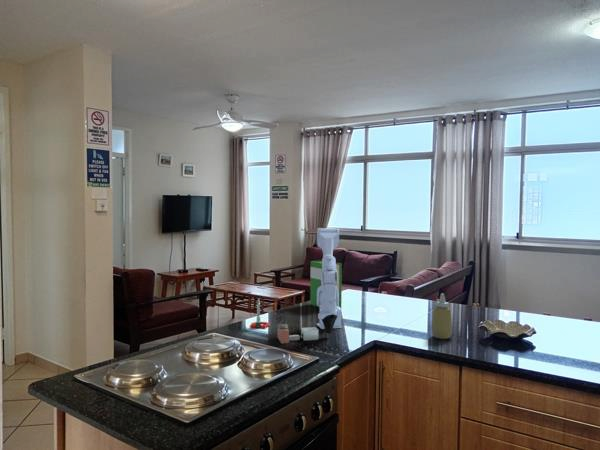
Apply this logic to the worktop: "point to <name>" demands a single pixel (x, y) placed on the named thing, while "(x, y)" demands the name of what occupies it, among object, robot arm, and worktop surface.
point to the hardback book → (316, 281)
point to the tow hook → (258, 323)
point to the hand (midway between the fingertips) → (328, 333)
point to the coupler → (285, 334)
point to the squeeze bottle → (442, 319)
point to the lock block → (309, 333)
